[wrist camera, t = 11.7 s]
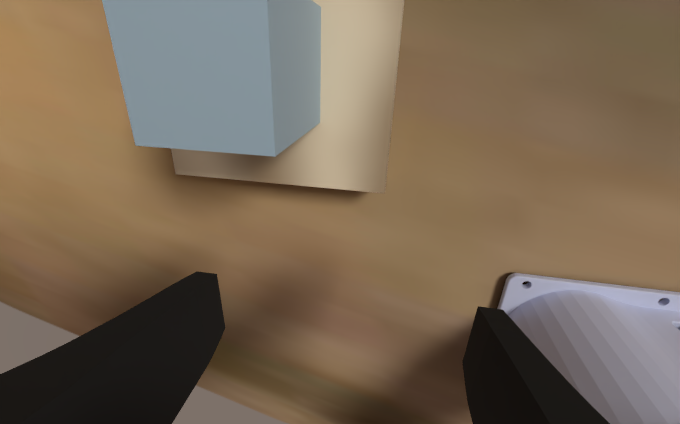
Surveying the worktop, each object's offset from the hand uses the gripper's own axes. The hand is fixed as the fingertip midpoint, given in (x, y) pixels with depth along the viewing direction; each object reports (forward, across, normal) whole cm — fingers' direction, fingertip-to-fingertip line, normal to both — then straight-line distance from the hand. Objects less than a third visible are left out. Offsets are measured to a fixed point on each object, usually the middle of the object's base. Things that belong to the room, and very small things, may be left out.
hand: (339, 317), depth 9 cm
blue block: (+8, +4, -6) cm, 11 cm away
